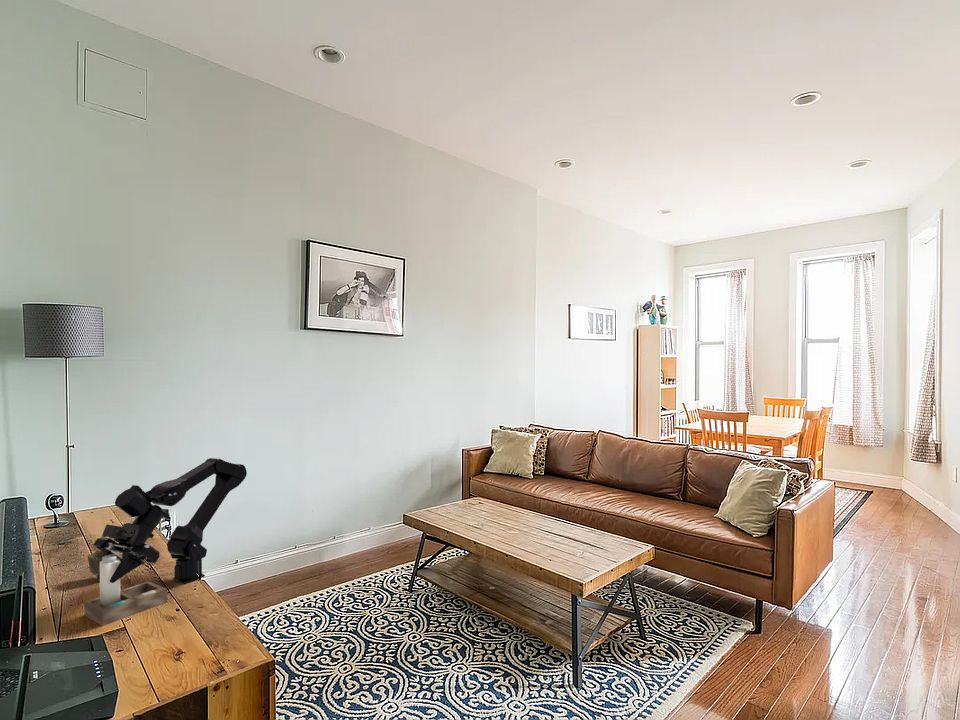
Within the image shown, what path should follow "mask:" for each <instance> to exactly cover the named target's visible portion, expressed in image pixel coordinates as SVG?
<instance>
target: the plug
mask: <svg viewBox="0 0 960 720" xmlns="http://www.w3.org/2000/svg"><path fill="white" fill-rule="evenodd" d="M119 564H120V559H119V558H117V555H116V554H111V555H106V556H104V557H102V561H101V562H100V580H99V597H100V607H101V608H103V607H106V606H109V605H111V604H114V603H117V602H120V601H121V600H120V590H121V578H120V579H118V580H117V581H116V582H114V583H111V582H110V579H111V577H112V575H113V574H114V572H115V570H116V569H117V567H118V566H119Z"/></svg>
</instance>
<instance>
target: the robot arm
mask: <svg viewBox="0 0 960 720" xmlns="http://www.w3.org/2000/svg"><path fill="white" fill-rule="evenodd" d="M213 475H215V482H214V483H215V484H214V485H213V487H212V489H211V490H210V491H209V493H208V494H207V495H206V497H205V498H204V500H203V501H202V503H201V504H200V506H199V507H198V508H197V510H196V512H195V513H194V514H193V515H192V517H191V518H190V520H189V522H187V524H185V525H177V526H176V527H175V529H174V530H173V532H172V533H171V534H170V535H169V536H168V538H169V539H168V541H167V543H166V546H167V548H166V549H167V552H168V553H169V554H170V556H171V559H175V565H174V567H173V568H174V576H173V577H172V579H173V581H176V582H179V583H181V584H188V583H191V582H195V581H197V580H199V579H201V578H204V577H206V575H205V574H204V573H203V566H202V565H203V558H206V556H207V551H208V549H207V548H206V547H204V545H202V542H203V537H204V531H205V529H206V527H207V525H208V524H209V523H210V521H211V520H212V518H213V517H214V516H215V514H216V512H217V511H218V510H219V509H220V507H221V505H222V504H223V502H224V500H225V499H226V497H227V496H228V494H229V493H230V492H231V491H233V490H234V489H236V488H237V487H239V486H240V485H241V484H242V482H244V480H246V477H247V475H248V474H247V468H246V466H245V465H244V464H241V463H232V462H229V461H226V460H224V459H222V458H213V457H210V458H207V459H205V461H203V462H202V463H201V464H199V465H197V466H195V467H194V468H192V469H191V470H189V471H187V472H185V473H184V474H182V475H180V476H179V477H177V478H174V479H170V480H166V481H163V482H161V483H158V484H156V485H154V486H153V487H152V488H151V489H149V490H147V491H144V490H143V488H141V487H140V486H139V485H137V484H134V485H133V484H132V485H131V487H130V488H128V489H125V490H123V492H121V493H119V494H118V495H117V497H116V498H115V501H114V505H115V506H116V507H117V508H118V509H119V510H121V511H122V512H124V513H125V514H126V515H128V516H129V517H131V518H134V519H133V521H132V522H131V523H129V522H127V523H123V525H122V526H119V525H114V524H113V525H112V524H105V527H104V529H103V532H102V535H101V536H100V537H98V538H96V540H95V541H94V542H93V544H92V546H93V547H94V548H95V549H98V550H99V551H102V553H103V557H104V556H106V555H111V554H116V555H117V558H119V559H120V564H119V566H118V567H117V569H116V570H115V572H114V574H113V575H112V577H111V579H110V582H111V583H114V582H116V581H117V580H118V579H120V580H121V578H123V577H125V576H126V575H127V574H129V573H130V572H132V571H133V570H135V569H137V568H139V567H140V566H142V565H143V566H144V565H145V559H146V562H147V563H151V564H156V563H157V562H158V560H159V558H160V552H159V550H157V549H156V548H154V547H153V546H151V545H150V544H149V543H148V544H147V543H146V542H147V541H148V539H153V538H154V537H155V534H154V533H153V532H154V531H155V529H156V527H157V526H158V525H159V523H160V522H161V520H162V519H163V520H170V518H171V515H170V510H169V509H167V508H162V507H161V506H165V507H166V506H167V507H173V506H175V505H177V504H178V503H179V502H180V501H181V500H182V499H184V498H185V496H186V494H187V493H188V492H189V490H191V489H192V488H194V487H196V486H197V485H199V484H200V483H202V482H204V481H205V480H207V479H209V478H210V477H212V476H213ZM120 554H121V557H122V558H121V557H120ZM196 573H197V574H198V575H199V577H200V578H198V575H197V574H196ZM97 579H98V580H97V581H100V571H99V574H98V577H97Z"/></svg>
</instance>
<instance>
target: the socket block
mask: <svg viewBox="0 0 960 720" xmlns="http://www.w3.org/2000/svg"><path fill="white" fill-rule="evenodd" d="M120 600H121V601H120V602H117V603H114V604H111V605H109V606H106V607H103V608H101V607H100V596H99V597H97V598H94V599H91V600H87V601H84V611H83V613H84V617H86V618H88V619H89V620H91V621H92V622H94V623H97V624H98V625H99V626H107V625H109V624H112V623H114V622H116V621H119V620H122V619H125V618H128V617H131V616H133V615H136V614H138V613H141V612H144V611H146V610H149V609H151V608H155V607H158V606H160V605H163V604H165V603H168V588H167V587H166V588H165V587H163V586H161V585H158V584H156V583H154V582H151V581H145V582H141V583H139V584H136V585H133V586H130V587H128V588H124V589H120Z"/></svg>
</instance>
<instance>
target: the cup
mask: <svg viewBox="0 0 960 720" xmlns="http://www.w3.org/2000/svg"><path fill="white" fill-rule="evenodd" d="M102 557H103V553H102V551H100V550H99V549H98V550H95V551H94V552H92V551H91V553H88V554H87V562H88V567H89V570H90V573H91V574H92V575H94V576H95V580H96V581H99V580H98V579H97V577H98V574H99V571H100V562H101V561H102Z"/></svg>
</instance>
